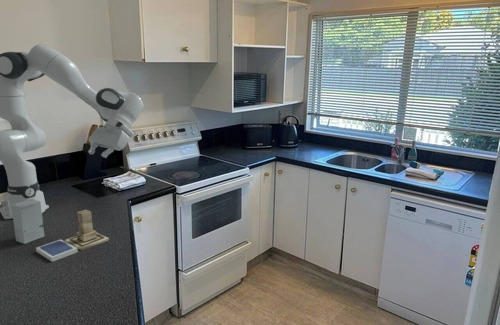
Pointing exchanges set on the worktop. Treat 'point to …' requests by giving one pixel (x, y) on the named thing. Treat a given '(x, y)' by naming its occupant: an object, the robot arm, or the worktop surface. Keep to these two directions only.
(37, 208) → the skincare box
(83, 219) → the stamp
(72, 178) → the worktop surface
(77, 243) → the box board
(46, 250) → the ink pad
